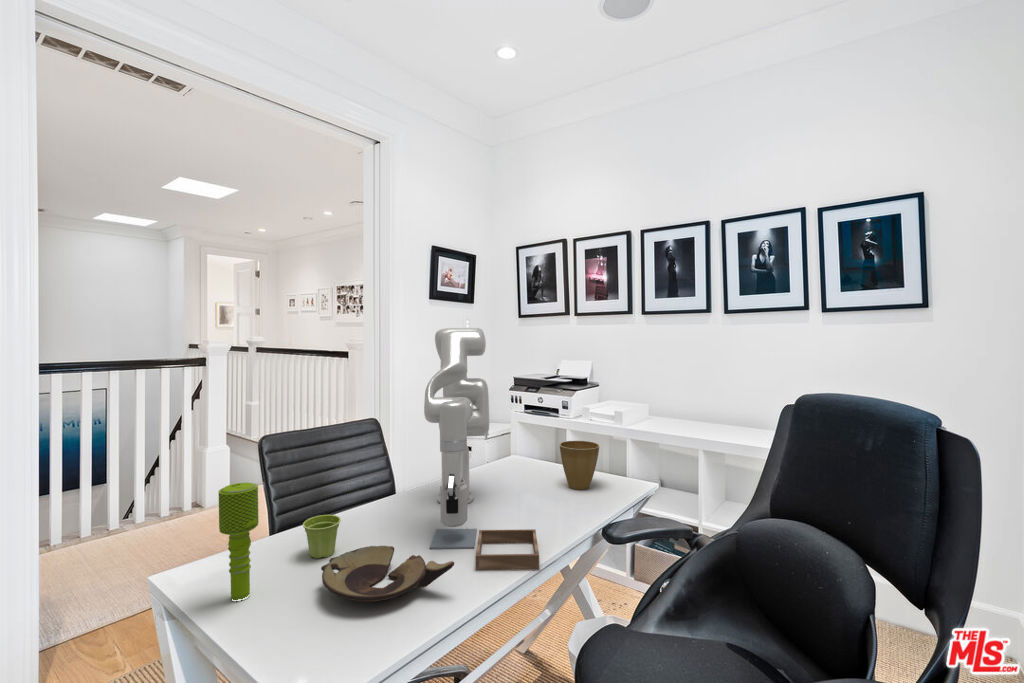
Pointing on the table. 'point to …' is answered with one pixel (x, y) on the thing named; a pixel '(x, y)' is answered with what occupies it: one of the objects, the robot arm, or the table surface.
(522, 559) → the box frame
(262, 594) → the table surface
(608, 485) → the table surface
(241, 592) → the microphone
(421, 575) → the broken ceramic bowl
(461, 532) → the mat
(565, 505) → the table surface
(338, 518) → the plant pot
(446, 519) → the can
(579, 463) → the plant pot
